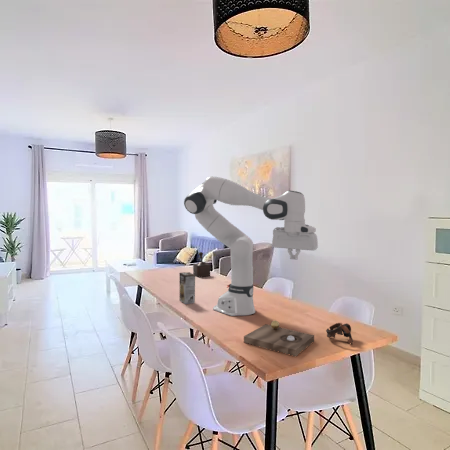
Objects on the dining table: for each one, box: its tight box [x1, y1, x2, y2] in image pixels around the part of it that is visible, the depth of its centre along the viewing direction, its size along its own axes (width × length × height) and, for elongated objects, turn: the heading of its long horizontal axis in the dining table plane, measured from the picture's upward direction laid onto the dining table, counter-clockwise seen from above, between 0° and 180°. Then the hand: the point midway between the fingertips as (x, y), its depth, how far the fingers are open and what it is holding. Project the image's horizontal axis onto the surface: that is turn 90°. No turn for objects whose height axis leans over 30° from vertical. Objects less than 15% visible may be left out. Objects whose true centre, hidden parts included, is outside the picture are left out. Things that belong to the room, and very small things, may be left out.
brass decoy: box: [270, 320, 280, 329], centre depth 143 cm, size 4×4×4 cm
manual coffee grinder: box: [192, 251, 211, 279], centre depth 271 cm, size 16×11×18 cm
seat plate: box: [243, 323, 315, 357], centre depth 135 cm, size 22×18×2 cm
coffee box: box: [179, 271, 196, 305], centre depth 193 cm, size 9×6×16 cm
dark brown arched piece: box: [325, 322, 354, 344], centre depth 138 cm, size 12×9×8 cm
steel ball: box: [286, 336, 295, 341], centre depth 132 cm, size 4×4×4 cm
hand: (293, 259), depth 149 cm, fingers closed
